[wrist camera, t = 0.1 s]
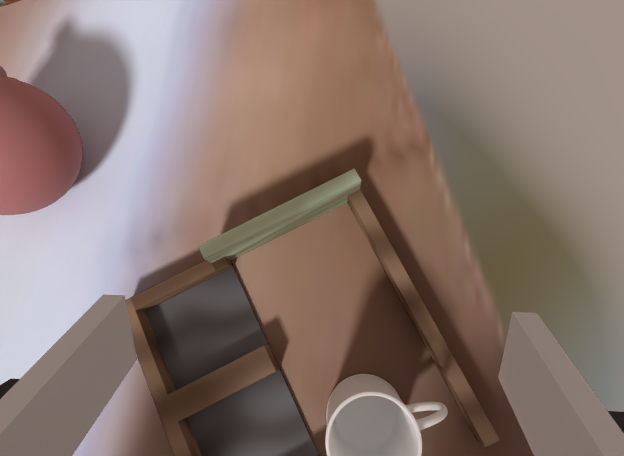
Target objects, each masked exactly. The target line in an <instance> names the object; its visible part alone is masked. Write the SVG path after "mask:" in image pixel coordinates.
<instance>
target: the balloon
mask: <svg viewBox="0 0 624 456" xmlns="http://www.w3.org/2000/svg"><path fill="white" fill-rule="evenodd" d="M82 156H83V151H82V142H81V138H80V135H79V132H78V129H77V127H76V125H75V123H74V121H73V120H72V118H71V117H70V115H69V114H68V113H67V111H66V110H65V109H64V108H63V107H62V106H61V105H60V104H59V103H58V102H57V101H56V100H55V99H53V98H52V97H51V96H49V95H48V94H47V93H45V92H43V91H42V90H40V89H38V88H36V87H34V86H32V85H30V84H27V83H25V82H22V81H19V80H18V79H15V78H10V77H7V74H6V72H5V70H4V69H3V68H2V67H1V66H0V215H17V214H25V213H29V212H33V211H37V210H39V209H42V208H44V207H47V206H49V205H50V204H52V203H54V202H55V201H57V200H58V199H60V198H61V197H62V196H63V195H64V194H65V193H66V192H67V191H68V190H69V189H70V188H71V186H72V185H73V184H74V182H75V180H76V178H77V176H78V174H79V171H80V168H81V164H82Z"/></svg>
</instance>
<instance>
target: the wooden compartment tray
mask: <svg viewBox="0 0 624 456" xmlns="http://www.w3.org/2000/svg"><path fill="white" fill-rule="evenodd" d="M360 186H361V179H360V177H359V175H358V174H357V172H356V170H355V168H354V169H352V170H350V171H348V172H346V173H344V174H342V175H340V176H338V177H336V178H334V179H332V180H330V181H328V182H326V183H324V184H322V185H320V186H318V187H316V188H314V189H312V190H310V191H308V192H306V193H304V194H302V195H300V196H298V197H296V198H294V199H292V200H290V201H287V202H285V203H283V204H281V205H279V206H277V207H275V208H273V209H271V210H269V211H267V212H265V213H263V214H261V215H259V216H257V217H255V218H253V219H251V220H249V221H247V222H245V223H243V224H241V225H239V226H237V227H235V228H233V229H231V230H229V231H227V232H225V233H223V234H221V235H219V236H217V237H215V238H213V239H211V240H209V241H207V242H205V243H203V244H201V245H199V246H198V247H199V249H200V252H201V254H202V256H203V259H205V261H203V262H201V263H199V264H197V265H195V266H193V267H191V268H189V269H187V270H185V271H183V272H181V273H179V274H177V275H175V276H173V277H171V278H169V279H167V280H165V281H163V282H161V283H159V284H157V285H155V286H153V287H151V288H149V289H147V290H145V291H143V292H141V293H139V294H137V295H135V296H133V297H131V298H129V299H127V300H125V301H126V306H127V311H128V316H129V321H130V326H131V331H132V337H133V342H134V347H135V352H136V355H137V357H138V360H139V363H140V365H141V368H142V371H143V373H144V376H145V379H146V381H147V384H148V387H149V389H150V392H151V395H152V397H153V400H154V403H155V405H156V408H157V411H158V413H159V416H160V419H161V421H162V424H163V426H164V429H165V432H166V434H167V437H168V440H169V442H170V445H171V448H172V450H173V453H174V456H319V454H318V452H317V450H316V447H315V445H314V443H313V441H312V439H311V436H310V434H309V432H308V430H307V428H306V425H305V423H304V421H303V419H302V416H301V414H300V412H299V410H298V408H297V405H296V403H295V401H294V399H293V397H292V394H291V392H290V390H289V388H288V386H287V383H286V381H285V379H284V377H283V375H282V372H281V370H280V368H279V366H278V364H277V361H276V359H275V357H274V355H273V353H272V350H271V348H270V346H269V344H268V342H267V339H266V337H265V335H264V333H263V331H262V328H261V326H260V324H259V322H258V320H257V317H256V315H255V313H254V311H253V309H252V306H251V304H250V302H249V300H248V298H247V295H246V293H245V291H244V289H243V287H242V284H241V282H240V280H239V278H238V276H237V273H236V271H235V269H234V267H233V265H232V262H231V260H233V259H235V258H237V257H239V256H241V255H243V254H245V253H247V252H249V251H251V250H253V249H255V248H257V247H259V246H261V245H263V244H265V243H267V242H269V241H271V240H273V239H275V238H277V237H279V236H281V235H283V234H285V233H287V232H289V231H291V230H293V229H295V228H297V227H299V226H301V225H303V224H305V223H307V222H309V221H311V220H313V219H315V218H317V217H319V216H321V215H323V214H325V213H327V212H329V211H331V210H333V209H335V208H337V207H339V206H341V205H343V204H345V203H348V204H349V206H350V208H351V210H352V212H353V214H354V215H355V217H356V219H357V221H358V223H359V225H360V226H361V228H362V230H363V232H364V234H365V236H366V237H367V239H368V241H369V243H370V245H371V247H372V248H373V250H374V252H375V254H376V256H377V258H378V259H379V261H380V263H381V265H382V267H383V269H384V270H385V272H386V274H387V276H388V278H389V280H390V281H391V283H392V285H393V287H394V289H395V291H396V292H397V294H398V296H399V298H400V300H401V302H402V304H403V305H404V307H405V309H406V311H407V313H408V315H409V316H410V318H411V320H412V322H413V324H414V326H415V327H416V329H417V331H418V333H419V335H420V337H421V338H422V340H423V342H424V344H425V346H426V348H427V349H428V351H429V353H430V355H431V357H432V359H433V360H434V362H435V364H436V366H437V368H438V370H439V371H440V373H441V375H442V377H443V379H444V381H445V382H446V384H447V386H448V388H449V390H450V392H451V394H452V395H453V397H454V399H455V401H456V403H457V405H458V406H459V408H460V410H461V412H462V414H463V416H464V417H465V419H466V421H467V423H468V425H469V427H470V428H471V430H472V432H473V434H474V436H475V438H476V439H477V440H478V441H479V442H480V443H481V444H482V445H484V446H485V447H488V446H490V445H492V444H494V443H495V442H497V441H499V440H500V439H499V437H498V436H497V434H496V432H495V430H494V428H493V427H492V425H491V423H490V421H489V420H488V418H487V416H486V414H485V412H484V411H483V409H482V407H481V405H480V403H479V402H478V400H477V398H476V396H475V394H474V393H473V391H472V389H471V387H470V385H469V384H468V382H467V380H466V378H465V376H464V375H463V373H462V371H461V369H460V367H459V366H458V364H457V362H456V360H455V358H454V357H453V355H452V353H451V351H450V350H449V348H448V346H447V344H446V342H445V341H444V339H443V337H442V335H441V333H440V332H439V330H438V328H437V326H436V324H435V323H434V321H433V319H432V317H431V315H430V314H429V312H428V310H427V308H426V306H425V305H424V303H423V301H422V299H421V297H420V296H419V294H418V292H417V290H416V288H415V287H414V285H413V283H412V281H411V280H410V278H409V276H408V274H407V272H406V271H405V269H404V267H403V265H402V263H401V262H400V260H399V258H398V256H397V254H396V253H395V251H394V249H393V247H392V245H391V244H390V242H389V240H388V238H387V236H386V235H385V233H384V231H383V229H382V227H381V226H380V224H379V222H378V220H377V218H376V217H375V215H374V213H373V211H372V210H371V208H370V206H369V204H368V202H367V201H366V199H365V197H364V195H363V193H362V192H361V190H360Z"/></svg>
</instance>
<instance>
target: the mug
mask: <svg viewBox="0 0 624 456" xmlns="http://www.w3.org/2000/svg"><path fill="white" fill-rule="evenodd" d="M427 410H438V411H437V412H436V413H434V414H432V415H429V416H427V417H424V418H421V419H416V420H415V418H414V416H413V415H412V413H413V412H419V411H427ZM447 413H448V411H447V408H446V406H445V405H444V404H443V403H440V402H421V403H414V404H408V405H405V404H404V403H403V402H402V401H401V399H400V397H399V395H398V393H397V392H396V390H395V389H394V388H393V387H392V386H391V385H390V384H389V383H388V382H387V381H385V380H384V379H382V378H380V377H378V376H375V375H371V374H357V375H353V376H350V377H348V378H346V379H344V380H343V381H342V382H340V383H339V384H338V385H337V386H336V387H335V389H334V390H333V392H332V393H331V395H330V398H329V400H328V404H327V410H326V418H327V428H326V437H325V445H326V452H327V456H421V454H422V438H421V433H420V431H421V430H423V429H425V428H428V427H430V426H432V425H435V424H437V423H439V422H440V421H442V420H443V419H444V418H445V417H446V416H447Z"/></svg>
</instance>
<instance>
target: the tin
mask: <svg viewBox="0 0 624 456" xmlns="http://www.w3.org/2000/svg"><path fill="white" fill-rule="evenodd" d="M17 1H20V0H0V6H4V5H8V4H10V3H14V2H17Z"/></svg>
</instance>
